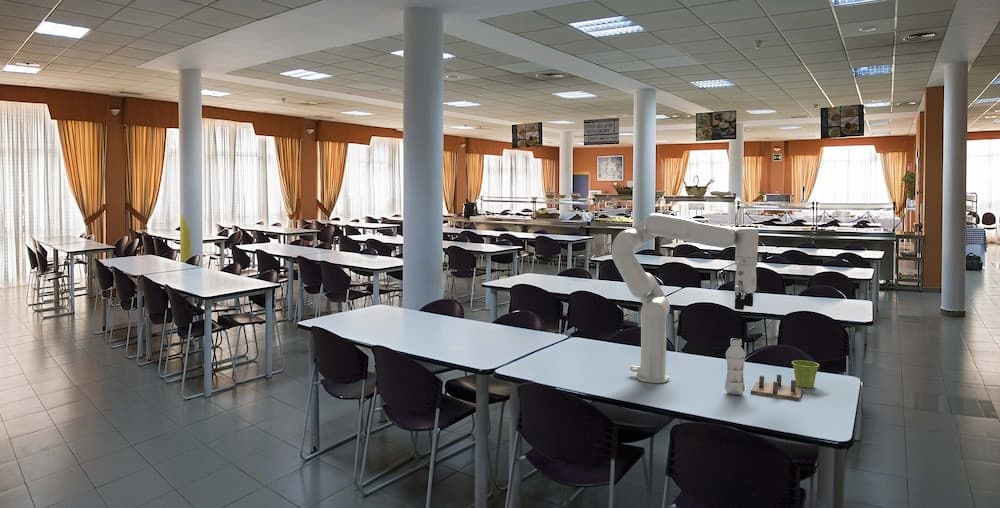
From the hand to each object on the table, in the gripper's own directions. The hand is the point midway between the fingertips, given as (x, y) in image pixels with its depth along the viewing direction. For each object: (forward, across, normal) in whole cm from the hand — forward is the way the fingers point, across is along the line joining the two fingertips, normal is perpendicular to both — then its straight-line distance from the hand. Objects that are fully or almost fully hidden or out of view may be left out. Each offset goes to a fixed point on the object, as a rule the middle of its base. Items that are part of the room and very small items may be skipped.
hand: (743, 307), depth 232 cm
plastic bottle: (+31, -8, -1) cm, 32 cm away
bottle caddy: (+30, +4, -12) cm, 33 cm away
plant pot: (+30, +19, -18) cm, 40 cm away
